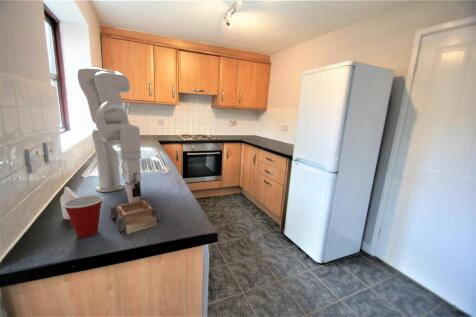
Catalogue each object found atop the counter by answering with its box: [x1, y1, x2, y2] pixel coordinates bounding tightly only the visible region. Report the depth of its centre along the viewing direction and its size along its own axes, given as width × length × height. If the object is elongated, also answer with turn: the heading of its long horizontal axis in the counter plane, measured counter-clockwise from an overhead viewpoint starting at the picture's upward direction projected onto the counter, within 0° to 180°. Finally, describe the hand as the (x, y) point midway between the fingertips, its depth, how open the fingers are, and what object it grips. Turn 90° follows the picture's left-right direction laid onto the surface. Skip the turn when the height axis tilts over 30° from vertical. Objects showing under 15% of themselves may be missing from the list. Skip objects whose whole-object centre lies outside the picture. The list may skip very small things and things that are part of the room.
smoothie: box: [124, 180, 141, 203], centre depth 95 cm, size 6×6×14 cm
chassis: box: [109, 198, 161, 235], centre depth 82 cm, size 18×14×5 cm
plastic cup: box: [63, 194, 104, 239], centre depth 71 cm, size 11×11×12 cm
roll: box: [59, 186, 79, 220], centre depth 82 cm, size 6×12×6 cm
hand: (133, 193), depth 96 cm, fingers open, 9 cm apart
